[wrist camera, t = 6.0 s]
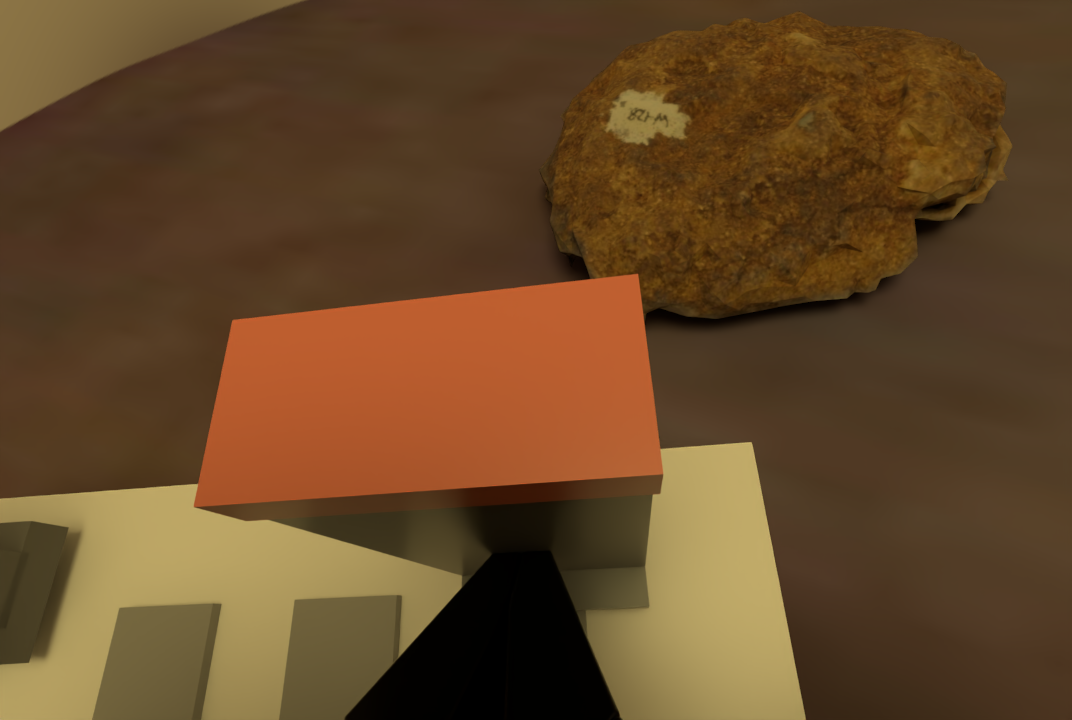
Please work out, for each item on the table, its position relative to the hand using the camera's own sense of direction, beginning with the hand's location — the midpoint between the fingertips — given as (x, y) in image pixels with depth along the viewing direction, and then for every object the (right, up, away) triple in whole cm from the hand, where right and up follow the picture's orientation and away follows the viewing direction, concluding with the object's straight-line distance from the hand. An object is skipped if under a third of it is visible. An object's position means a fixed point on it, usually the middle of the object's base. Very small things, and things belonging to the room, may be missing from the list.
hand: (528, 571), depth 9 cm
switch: (+1, -1, +4) cm, 4 cm away
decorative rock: (+8, +9, +13) cm, 18 cm away
